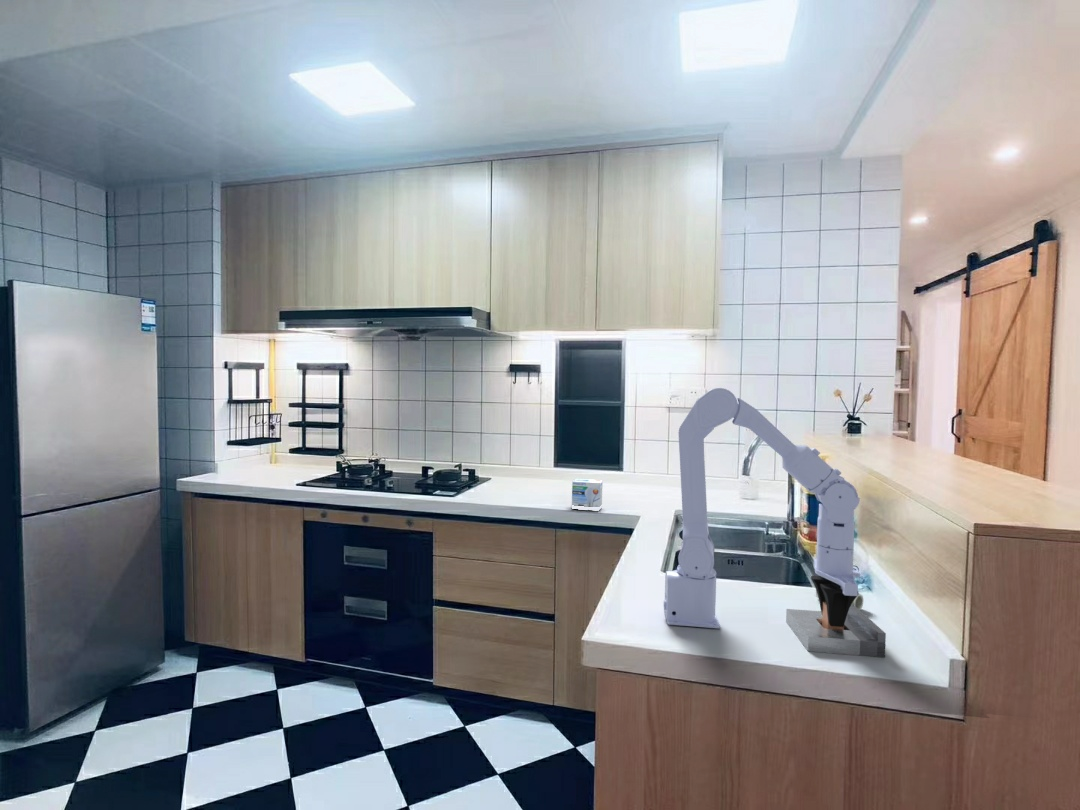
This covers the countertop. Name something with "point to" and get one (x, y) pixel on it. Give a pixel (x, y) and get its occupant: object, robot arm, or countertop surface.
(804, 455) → the robot arm
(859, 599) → the pipe fitting
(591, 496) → the light bulb box
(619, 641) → the countertop surface
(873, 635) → the grey square base
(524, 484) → the countertop surface
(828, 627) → the pin
